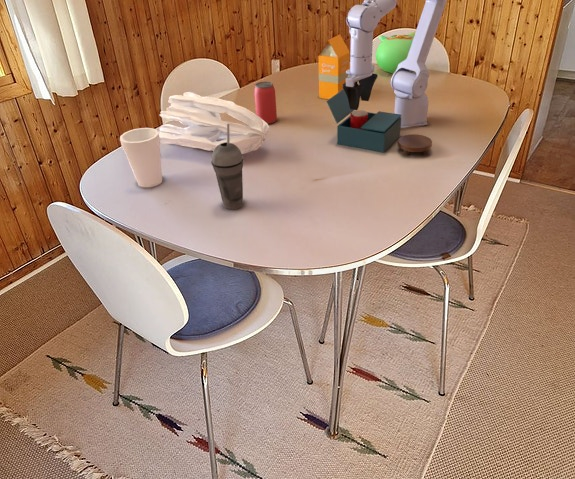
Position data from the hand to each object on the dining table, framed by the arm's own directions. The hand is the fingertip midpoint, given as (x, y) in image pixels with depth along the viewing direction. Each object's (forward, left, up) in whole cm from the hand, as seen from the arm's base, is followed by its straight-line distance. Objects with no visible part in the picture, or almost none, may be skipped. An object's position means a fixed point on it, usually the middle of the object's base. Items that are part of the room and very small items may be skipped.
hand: (359, 104), depth 139 cm
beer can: (+22, -24, -11) cm, 34 cm away
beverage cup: (+41, +25, -11) cm, 49 cm away
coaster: (-11, +14, -10) cm, 20 cm away
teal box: (-2, +2, -10) cm, 11 cm away
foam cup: (+60, +6, -11) cm, 61 cm away
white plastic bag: (+42, -8, -11) cm, 44 cm away
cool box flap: (+4, -4, -1) cm, 5 cm away
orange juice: (-6, -39, -11) cm, 41 cm away
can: (0, 0, -10) cm, 10 cm away
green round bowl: (-38, -55, -11) cm, 68 cm away
